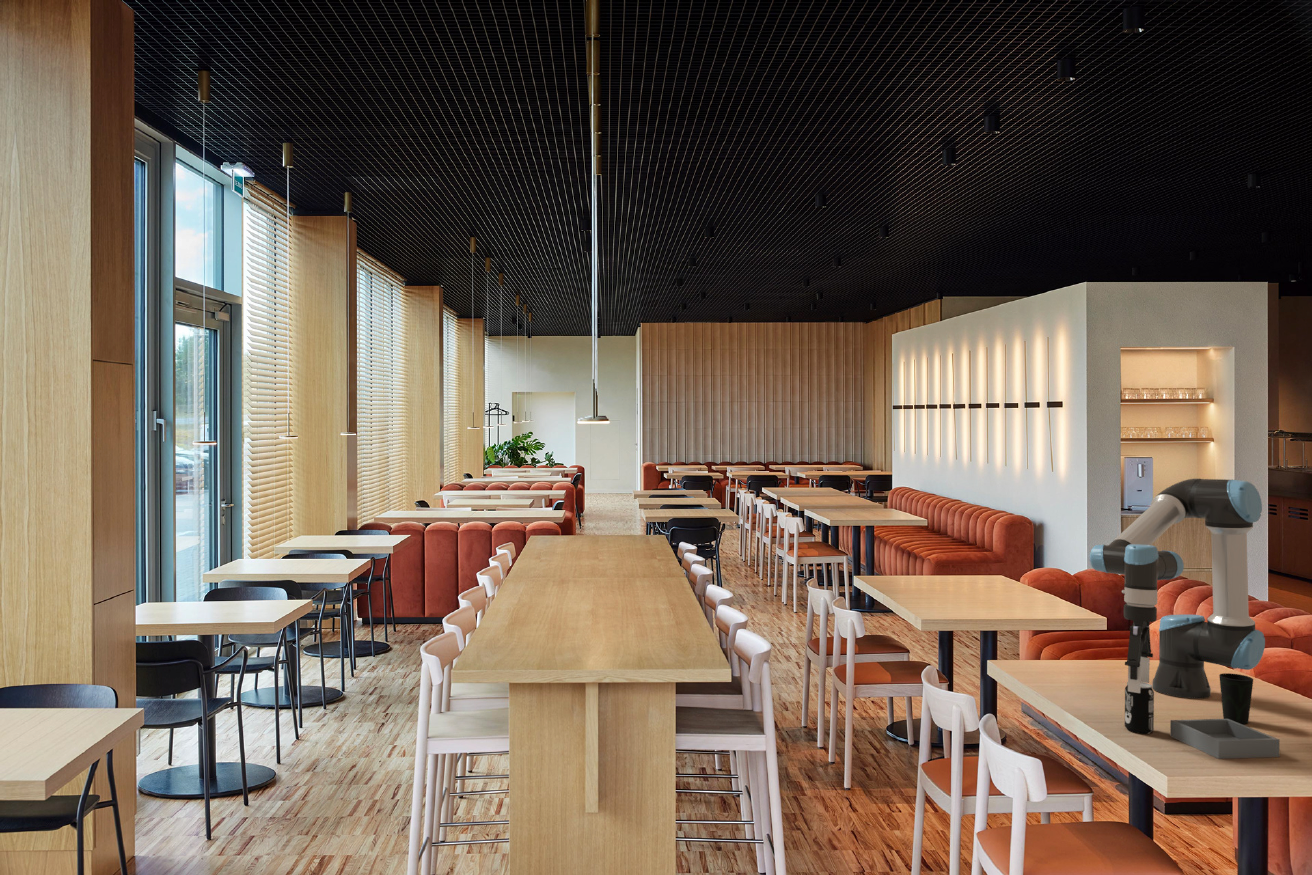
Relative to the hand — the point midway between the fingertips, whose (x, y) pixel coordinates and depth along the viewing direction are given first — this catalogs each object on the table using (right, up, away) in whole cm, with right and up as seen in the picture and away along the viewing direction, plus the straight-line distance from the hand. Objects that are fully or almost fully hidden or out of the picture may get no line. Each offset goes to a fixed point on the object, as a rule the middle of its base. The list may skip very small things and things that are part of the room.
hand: (1138, 686), depth 227 cm
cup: (+31, -12, +9) cm, 35 cm away
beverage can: (0, -12, 0) cm, 12 cm away
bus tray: (+15, -11, -11) cm, 22 cm away
